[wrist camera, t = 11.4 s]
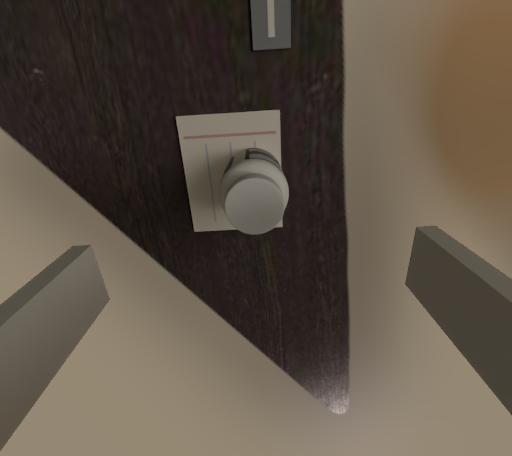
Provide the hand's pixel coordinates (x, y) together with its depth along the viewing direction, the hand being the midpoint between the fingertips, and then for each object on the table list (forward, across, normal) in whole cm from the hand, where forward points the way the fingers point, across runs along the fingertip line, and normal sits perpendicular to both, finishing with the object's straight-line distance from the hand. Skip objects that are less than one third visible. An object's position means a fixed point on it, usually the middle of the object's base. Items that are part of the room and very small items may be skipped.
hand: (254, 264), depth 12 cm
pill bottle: (+16, 0, 0) cm, 16 cm away
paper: (+16, -2, 0) cm, 17 cm away
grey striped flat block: (+17, +2, +13) cm, 21 cm away
